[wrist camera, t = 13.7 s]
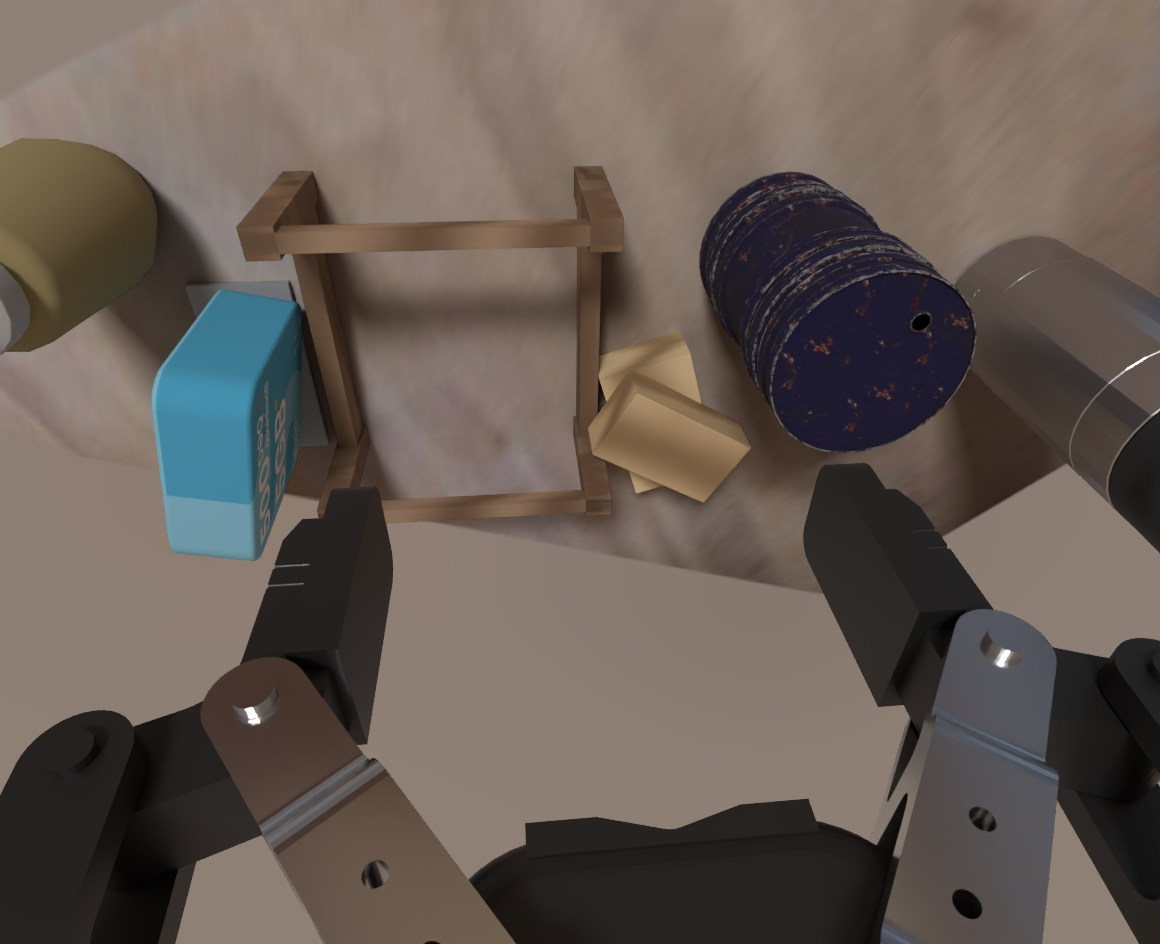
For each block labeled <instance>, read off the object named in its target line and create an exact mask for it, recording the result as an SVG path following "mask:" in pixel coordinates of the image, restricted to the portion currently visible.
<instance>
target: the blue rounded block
mask: <svg viewBox="0 0 1160 944" xmlns="http://www.w3.org/2000/svg"><path fill="white" fill-rule="evenodd" d="M301 350H302V312H301V307H300V305H299V304H298V303H297V302H293V301H287V300H282V299H276V298H270V297H264V296H259V295H253V294H247V293H241V292H236V291H230V290H224V289H221V290H219V291H217V292H216V293H215V295H214V296H213V297H212V299H211V300H210V301H209V303H208V304H207V305H206V307H205V308H204V309H203V311H202V312H201V314H200V315H199V316H198V318H197V319H196V320H195V322H194V323H193V324H192V326H191V327H190V328H189V330H188V331H187V332H186V334H185V335H184V336H183V338H182V339H181V340H180V342H179V343H178V344H177V346H176V347H175V348H174V350H173V351H172V352H171V354H170V355H169V356H168V358H167V359H166V361H165V362H164V363H163V365H162V366H161V367H160V369H159V370H158V372H157V375H156V377H155V380H154V384H153V389H152V397H151V408H152V416H153V424H154V432H155V439H156V447H157V455H158V462H159V470H160V476H161V477H160V478H161V484H162V493H163V500H164V508H165V516H166V523H167V531H168V538H169V544H170V547H171V549H172V551H173V552H175V553H178V554H189V555H199V556H210V557H219V558H229V559H239V560H249V561H256V560H258V559H259V558H260V556H261V554H262V552H263V550H264V547H265V544H266V542H267V539H268V536H269V534H270V531H271V528H272V526H273V523H274V520H275V517H276V515H277V512H278V509H279V506H280V504H281V501H282V498H283V496H284V493H285V490H286V488H287V485H288V482H289V479H290V477H291V474H292V471H293V469H294V466H295V463H296V460H297V456H298V451H299V445H300V428H301Z"/></svg>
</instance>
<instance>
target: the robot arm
mask: <svg viewBox="0 0 1160 944" xmlns="http://www.w3.org/2000/svg"><path fill="white" fill-rule="evenodd" d="M955 287H956V288H957V289H958V290H959V291H960V292H961V293H962V295H963V296H964V297H965V298H966V300H967V301H968V303H969V305H970V307H971V309H972V311H973V315H974V318H975V322H976V333H977V338H976V347H975V352H974V356H973V359H972V363H971V366H970V368H969V369H970V370H971V371H972V372H973V373H974V374H975V375H976V376H977V377H978V378H979V379H980V380H981V381H982V382H983V383H984V384H985V385H986V386H987V387H988V388H989V389H990V390H991V391H992V392H993V393H994V394H995V395H996V396H997V397H998V398H1000V399H1001V400H1002V401H1003V402H1004V403H1005V404H1006V405H1007V406H1008V407H1009V408H1010V409H1011V410H1012V411H1013V412H1014V413H1015V414H1016V415H1017V416H1018V417H1019V418H1020V419H1021V420H1022V421H1023V422H1024V423H1025V424H1027V425H1028V426H1029V427H1030V428H1031V429H1032V430H1033V431H1034V432H1035V433H1036V434H1037V435H1038V436H1039V437H1040V438H1041V439H1042V440H1043V441H1044V442H1045V443H1046V444H1047V445H1048V446H1049V447H1050V448H1051V449H1052V450H1054V451H1055V452H1056V453H1057V454H1058V455H1059V456H1060V457H1061V458H1062V459H1063V460H1064V461H1065V462H1066V463H1067V464H1068V465H1069V466H1070V467H1071V468H1072V469H1073V470H1074V471H1075V472H1076V473H1078V475H1080V476H1081V477H1082V478H1083V479H1084V480H1085V481H1086V482H1087V483H1088V484H1089V485H1090V486H1091V487H1092V488H1093V489H1094V490H1095V491H1096V492H1098V493H1099V494H1100V495H1101V496H1102V497H1103V498H1104V499H1105V500H1106V501H1107V502H1108V503H1109V504H1110V505H1111V506H1112V507H1113V508H1114V509H1115V510H1116V511H1118V513H1120V515H1122V516H1123V517H1124V518H1125V519H1126V520H1127V521H1128V522H1129V523H1130V524H1131V525H1132V526H1133V527H1134V528H1135V529H1136V530H1137V531H1138V532H1140V533H1141V534H1142V535H1143V536H1144V538H1145V539H1146V540H1147V541H1148V542H1149V543H1150V544H1151V545H1152V546H1153V547H1154V548H1155V549H1156V550H1157V551H1158V552H1159V553H1160V298H1159V297H1157V296H1156V295H1154V294H1152V293H1150V292H1149V291H1147V290H1145V289H1144V288H1142V287H1140V286H1138V285H1137V284H1135V283H1133V282H1131V281H1130V280H1128V279H1126V278H1124V277H1123V276H1121V275H1119V274H1118V273H1116V272H1114V271H1112V270H1111V269H1109V268H1107V267H1105V266H1104V265H1102V264H1100V263H1099V262H1097V261H1095V260H1093V259H1092V258H1088V257H1086V256H1084V255H1082V254H1081V253H1079V252H1077V251H1075V250H1073V249H1072V248H1070V247H1068V246H1066V245H1065V244H1063V243H1061V242H1059V241H1058V240H1055V239H1050V238H1046V237H1029V238H1024V239H1020V240H1015V241H1013V242H1010V243H1008V244H1005V245H1003V246H1000V247H998V248H997V249H995V250H993V251H992V252H990V253H988V254H987V255H985V256H984V257H982V258H981V259H980V260H979V261H978V262H976V263H975V264H974V265H973V266H972V267H971V268H970V269H969V270H968V271H967V272H966V273H965V274H964V275H963V276H962V277H961V278H960V280H959V281H958V283H957V284H956V286H955ZM803 539H804V549H805V554H806V557H807V560H808V562H809V564H810V566H811V568H812V570H813V572H814V575H815V577H816V579H817V581H818V583H819V585H820V587H821V589H822V591H823V593H824V595H825V597H826V599H827V602H828V604H829V606H830V608H831V610H832V612H833V614H834V616H835V618H836V620H837V622H838V624H839V626H840V628H841V631H842V633H843V634H844V637H845V639H846V641H847V643H848V645H849V647H850V649H851V651H852V653H853V655H854V658H855V659H856V662H857V664H858V666H859V668H860V670H861V672H862V674H863V676H864V678H865V680H866V683H867V685H868V687H869V689H870V691H871V693H872V695H873V697H874V699H875V701H876V703H877V705H878V707H883V706H896V705H904V706H905V708H906V710H907V712H908V714H909V716H910V718H909V720H908V722H907V724H906V726H905V729H904V732H903V735H902V739H901V742H900V745H899V748H898V752H897V755H896V759H895V762H894V765H893V768H892V772H891V775H890V778H889V782H888V785H887V789H886V792H885V795H884V798H883V802H882V805H881V809H880V812H879V815H878V817H877V821H876V823H875V826H874V828H873V831H872V833H871V836H870V838H869V840H866V839H864V838H862V837H861V836H859V835H857V834H854V833H852V832H849V831H847V830H845V829H842V828H839V827H836V826H833V825H829V824H826V823H823V822H818V821H816V819H815V817H814V814H813V811H812V808H811V805H810V803H809V799H800V800H788V801H776V802H765V803H754V804H742V805H738V806H735V807H733V808H730V809H728V810H725V811H722V812H720V813H717V814H715V815H712V816H709V817H707V818H704V819H701V820H699V821H696V822H694V823H691V824H688V825H686V826H683V827H681V828H677V829H662V828H656V827H650V826H645V825H639V824H633V823H627V822H621V821H615V820H610V819H604V818H598V817H592V818H581V819H569V820H557V821H546V822H535V823H526V824H525V827H526V845H523V846H521V847H518V848H516V849H513V850H510V851H509V852H507V853H505V854H503V855H501V856H499V857H497V858H495V859H494V860H492V861H491V862H490V863H488V864H487V865H486V866H484V867H483V868H481V869H480V870H479V871H478V872H476V873H475V874H474V875H473V876H472V877H471V878H470V879H467V878H466V876H465V875H464V873H463V872H462V871H461V869H460V868H459V867H458V865H457V864H456V863H455V861H454V860H453V859H452V857H451V856H450V855H449V853H448V852H447V851H446V849H445V848H444V847H443V845H442V844H441V842H440V841H439V840H438V838H437V837H436V836H435V834H434V833H433V832H432V831H431V829H430V828H429V827H428V825H427V824H426V822H425V821H424V820H423V819H422V817H421V816H420V814H419V813H418V812H417V810H416V809H415V808H414V806H413V805H412V804H411V802H410V801H409V800H408V798H407V797H406V796H405V794H404V793H403V792H402V790H401V789H400V788H399V786H398V785H397V783H396V782H395V781H394V779H393V778H392V777H391V775H390V774H389V773H388V772H387V770H386V769H385V768H384V767H383V766H382V764H381V763H380V762H379V761H378V760H376V759H375V758H372V759H371V760H369V759H368V758H367V757H366V756H365V755H364V754H363V753H362V751H361V750H360V748H359V747H358V746H357V745H363V744H367V742H368V735H369V729H370V723H371V716H372V710H373V703H374V697H375V690H376V684H377V678H378V671H379V665H380V659H381V652H382V646H383V639H384V633H385V627H386V620H387V614H388V608H389V601H390V594H391V588H392V581H393V559H392V550H391V545H390V541H389V536H388V531H387V526H386V521H385V517H384V512H383V507H382V502H381V498H380V494H379V491H378V488H377V487H376V486H374V487H354V488H334V489H332V490H331V492H330V495H329V498H328V502H327V505H326V509H325V512H324V516H323V518H318V519H317V518H316V519H302V520H301V521H300V522H299V523H298V525H297V526H296V527H295V528H294V529H293V530H292V531H291V532H290V533H289V534H288V536H287V537H286V538H285V539H284V540H283V542H282V545H281V548H280V551H279V553H278V556H277V560H276V562H275V569H273V571H272V574H271V577H270V580H269V583H268V585H269V587H268V588H267V589H266V591H265V595H264V597H263V601H262V603H261V606H260V609H259V612H258V615H257V618H256V621H255V624H254V627H253V629H252V633H251V635H250V638H249V641H248V644H247V647H246V650H245V653H244V656H243V659H242V661H241V663H240V665H238V666H237V667H235V668H233V669H231V670H230V671H228V672H227V673H226V674H224V675H223V676H222V677H220V678H219V679H218V680H217V681H216V682H215V684H214V685H213V686H212V687H211V688H210V690H209V691H208V693H207V694H206V697H205V698H204V700H203V701H202V702H200V703H198V704H196V705H194V706H192V707H189V708H187V709H184V710H181V711H178V712H176V713H173V714H169V715H167V716H163V717H160V718H157V719H154V720H152V721H149V722H146V723H143V724H140V725H137V726H134V727H133V726H132V725H131V723H130V721H129V720H128V719H127V718H126V717H125V716H123V715H121V714H119V713H116V712H113V711H106V710H101V711H100V710H98V711H90V712H85V713H82V714H78V715H75V716H72V717H70V718H68V719H65V720H63V721H61V722H60V723H58V724H56V725H54V726H53V727H51V728H50V729H48V730H47V731H45V732H44V733H43V734H41V735H40V736H39V737H38V738H36V740H34V741H33V742H32V743H31V745H29V746H28V747H27V749H26V750H25V751H24V752H23V754H22V755H21V756H20V758H19V760H18V762H17V763H16V765H15V767H14V769H13V771H12V773H11V775H10V777H9V779H8V781H7V783H6V785H5V787H4V789H3V791H2V793H1V795H0V944H175V942H176V938H177V934H178V930H179V927H180V922H181V919H182V915H183V911H184V907H185V903H186V899H187V896H188V892H189V888H190V884H191V880H192V876H193V872H194V868H195V865H196V861H199V860H201V859H204V858H206V857H209V856H211V855H214V854H216V853H219V852H221V851H224V850H226V849H229V848H231V847H234V846H236V845H238V844H241V843H243V842H246V841H248V840H251V839H253V838H255V837H258V836H261V835H263V837H264V839H265V841H266V842H267V844H268V846H269V848H270V850H271V852H272V853H273V855H274V857H275V859H276V860H277V862H278V864H279V866H280V868H281V869H282V871H283V873H284V875H285V876H286V878H287V880H288V882H289V884H290V886H291V887H292V889H293V891H294V893H295V894H296V896H297V898H298V900H299V902H300V903H301V905H302V907H303V909H304V911H305V912H306V914H307V916H308V918H309V920H310V921H311V923H312V925H313V926H314V928H315V930H316V932H317V934H318V936H319V937H320V939H321V941H322V943H323V944H1042V940H1043V930H1044V920H1045V911H1046V901H1047V891H1048V882H1049V872H1050V862H1051V851H1052V842H1053V833H1054V822H1055V814H1056V804H1057V801H1058V802H1059V804H1060V806H1061V808H1062V809H1063V811H1064V813H1065V814H1066V816H1067V818H1068V820H1069V821H1070V823H1071V825H1072V827H1073V829H1074V830H1075V832H1076V834H1077V835H1078V837H1079V839H1080V841H1081V843H1082V844H1083V846H1084V848H1085V850H1086V851H1087V853H1088V855H1089V857H1090V858H1091V860H1092V862H1093V864H1094V865H1095V867H1096V869H1097V871H1098V872H1099V874H1100V876H1101V878H1102V879H1103V881H1104V883H1105V885H1106V886H1107V888H1108V890H1109V892H1110V894H1111V895H1112V897H1113V899H1114V901H1115V902H1116V904H1117V906H1118V907H1119V909H1120V911H1121V913H1122V914H1123V916H1124V918H1125V920H1126V922H1127V923H1128V925H1129V927H1130V929H1131V930H1132V932H1133V934H1134V936H1135V937H1136V939H1137V941H1138V943H1139V944H1160V786H1159V785H1158V784H1157V783H1158V782H1159V781H1160V641H1158V640H1153V639H1146V638H1135V639H1130V640H1126V641H1124V642H1122V643H1121V644H1120V645H1119V646H1118V647H1117V648H1116V649H1115V651H1114V652H1113V654H1112V655H1111V656H1110V658H1105V657H1099V656H1093V655H1089V654H1084V653H1078V652H1073V651H1068V650H1062V649H1058V648H1054V647H1052V646H1051V644H1050V643H1049V642H1048V640H1047V639H1046V638H1045V637H1044V636H1043V635H1042V634H1041V633H1040V632H1039V631H1038V630H1037V629H1036V628H1034V627H1033V626H1031V625H1030V624H1029V623H1027V622H1025V621H1024V620H1022V619H1020V618H1018V617H1015V616H1013V615H1011V614H1007V613H1005V612H1001V611H996V610H994V609H993V608H992V607H991V605H990V604H989V602H988V601H987V600H986V599H985V597H984V595H983V594H982V593H981V591H980V590H979V588H978V587H977V586H976V584H975V583H974V581H973V580H972V579H971V577H970V576H969V574H968V573H967V572H966V570H965V569H964V567H963V566H962V565H961V563H960V562H959V560H958V559H957V558H956V557H955V555H954V554H953V552H952V551H951V550H950V549H947V544H946V542H945V541H944V540H943V538H942V537H941V535H940V534H939V533H938V532H935V527H934V526H933V524H932V523H931V521H930V520H929V519H928V517H927V516H926V514H925V513H924V512H923V510H922V509H921V507H920V506H918V505H917V504H916V503H914V502H913V501H912V500H910V499H909V498H908V497H906V496H905V495H904V494H902V493H901V492H899V491H898V490H897V489H885V487H884V486H883V484H882V483H881V481H880V480H879V478H878V477H877V475H876V474H875V472H874V471H873V469H872V468H871V467H870V466H869V465H868V464H866V463H856V464H836V465H825V466H823V467H822V468H821V469H820V471H819V474H818V477H817V481H816V485H815V489H814V492H813V496H812V500H811V504H810V507H809V511H808V515H807V519H806V522H805V527H804V535H803Z"/></svg>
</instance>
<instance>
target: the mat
mask: <svg viewBox="0 0 1160 944" xmlns="http://www.w3.org/2000/svg"><path fill="white" fill-rule="evenodd" d="M184 287H185V290H186V292H187V295H188V298H189V301H190V304H191V307H192V310H193V313H194V316H195V318H196V319H197V318H198V316H199V315H200V314H201V312H202V311H203V309H204V308H205V307H206V305H207V304H208V303H209V301H210V300H211V299H212V297H213V296H214V295H215V293H216V292H217V291H219V290H221V289H224V290H230V291H236V292H241V293H247V294H253V295H259V296H264V297H270V298H276V299H282V300H287V301H293V302H295V301H294V297H293V293H292V289H291V285H290V281H267V282H232V283H197V284H186V285H185V286H184ZM329 444H330V441H329V437H328V433H327V429H326V425H325V421H324V417H323V413H322V409H321V405H320V401H319V397H318V393H317V389H316V385H315V381H314V377H313V373H312V369H311V365H310V361H309V357H308V353H307V349H306V345H305V341H304V337H303V333H302V350H301V428H300V445H299V447H313V446H329Z"/></svg>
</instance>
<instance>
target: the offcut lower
mask: <svg viewBox="0 0 1160 944" xmlns="http://www.w3.org/2000/svg"><path fill="white" fill-rule="evenodd" d="M630 368H631V369H633V370H635V371H637V372H639V373H641V374H643V375H645V376H647V377H649V378H651V379H653V380H655V381H657V382H659V383H661V384H663V385H665V386H667V387H669V388H671V389H673V390H675V391H677V392H679V393H681V394H683V395H685V396H687V397H689V398H691V399H693V400H695V401H697V402H699V403H701V399H700V394H699V390H698V385H697V381H696V377H695V372H694V368H693V363H692V359H691V354H690V352H689V349H688V347H687V345H686V343H685V340H684V338H683V336H682V334H681V331H678V332H675V333H672V334H669V335H665V336H662V337H659V338H656V339H652V340H649V341H646V342H643V343H639V344H636V345H633V346H630V347H626V348H623V349H620V350H617V351H613V352H610V353H607V354H604V355H600V356H599V371H598V375H599V380H600V383H601V386H602V390H603V393H604V396H605V399H606V402H607V400H608V399H609V398H610V396H611V395H612V393H613V392H614V391H615V389H616V388H617V386H618V385H619V383H620V382H621V381H622V379H623V378H624V376H625V375H626V374H627V372H628V371H629V369H630ZM701 404H702V403H701ZM629 473H630V476H631V479H632V482H633V485H634V488H635V491H636V494H637V493H640V492H644V491H647V490H651V489H654V488H658V487H661V486H664V485H662V484H659V483H657V482H655V481H652V480H650V479H648V478H645V477H643V476H641V475H639V474H636V473H634V472H632V471H629Z"/></svg>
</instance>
